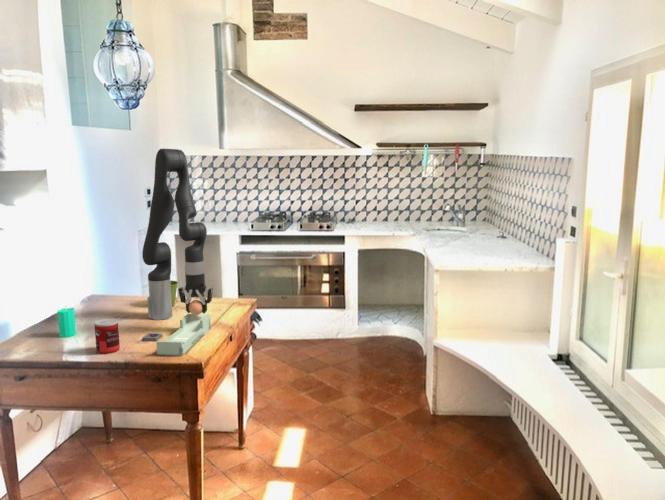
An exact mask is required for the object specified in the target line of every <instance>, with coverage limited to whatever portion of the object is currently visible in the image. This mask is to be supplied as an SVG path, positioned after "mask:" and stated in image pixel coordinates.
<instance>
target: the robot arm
mask: <svg viewBox="0 0 665 500" xmlns="http://www.w3.org/2000/svg"><path fill="white" fill-rule="evenodd" d="M186 156H187V155H186V154H185V152H184V151H183V150H182V149H177V148H159V149H158V151H157V153H156V155H155V163H154V183H153V190H152V198H151V203H150V211H149V217H148V219H149V220H148V225H147V231H146V234H145V238H144V243H143V247H142V261H143V262H144V264H145V265H146V266H155V268H154V269H153V270H151V271H150V272H149V273H148V274H147V280H148V296H147V297H146V298H147V311H148V319H151V320H155V321H157V320H158V321H159V320H160V321H161V320H168V319H170V318H172V317H173V306H172V301H171V284H170V280H171V273H172V251H171V247H170V245H169V244H168V243H166V242H164V241H163V242H162V241H161V242H160V238H161V236H162V234H163V232H164V231H165V230H166V229H167V227H168V225H170V222H171V221H172V219H173V216H174V210H175V207H176V210H177V214H178V234H179V237H180V239H181V240H183V241H184V242H190V241H194V242H193V244H192V245H190V246H189V245H188V246H187V247H185V249H184V260H185V261H184V262H185V263H184V264H185V265H184V272H185V276H184V277H185V286H184V287H183V286H181V287H179V288H177V290H178V294H179V298H180V302H181V303H184V304H185V311H186V313H187V314H191V312H190V311H189V304H190V303H191V302H192V301H191V300H192V299H193V298H198V300H199V301H201V302H202V303H203V305H202V313H201V314H206V313H207V311H208V304H210V303H211V302H213V301H212V300H213V292H214V291H213V290H214V288H213V287H207V286H206V276H205V271H206V269H205V264H204V249H205V242H206V238H207V233H208V230H207V227H206V225H205V224H204V223H203V222H200V221H196V222H189V220H191V219H194V218H195V217H196V216H197V214H198V213H197V209H196V206H195V205H196V204H195V202H194V199H193V195H192V190H191V183H190V175H189V169H188V168H189V166H188V161H187V157H186ZM169 172H170V173H176V174H177V178H178V184H177V188H176V191H175V194H174V197H173V194H172V193H171V191H170V189H169V185H168V182H167V181H168V179H167V177H168V173H169ZM205 292H206V293H207V296H206V295H205ZM185 293H187V296H186V294H185ZM206 297H207V298H206Z"/></svg>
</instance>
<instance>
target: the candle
mask: <svg viewBox="0 0 665 500" xmlns="http://www.w3.org/2000/svg"><path fill="white" fill-rule="evenodd" d="M75 317H76V316H75V308H73V307H70V308H69V307H68V308H67V306H65V308H61V309H57V319H58V331H59V333H58V334H59V338H64V339H65V338H72V337H75V336H76V335H77V330H76V329H77V327H76V318H75Z"/></svg>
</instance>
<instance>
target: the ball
mask: <svg viewBox="0 0 665 500" xmlns="http://www.w3.org/2000/svg"><path fill="white" fill-rule="evenodd" d="M202 305H203V303H202V301H201V300H200V299H193V300H192V301H190V304H189V311H190V314H194V315H198V314H203V313H202Z"/></svg>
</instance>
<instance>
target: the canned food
mask: <svg viewBox="0 0 665 500" xmlns="http://www.w3.org/2000/svg"><path fill="white" fill-rule="evenodd" d="M94 334H95V335H94V336H95V346H96V347H95V348H96V352H97V354H101V355H109V354H113V353H116V352H118V351H120V348H121V346H120V343H121V342H120V331H119V320H118V319H117V318H104V319H99V320H96V321H95V322H94Z"/></svg>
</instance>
